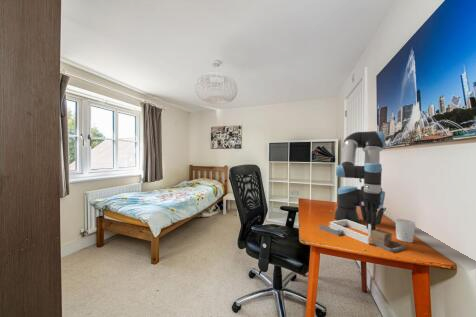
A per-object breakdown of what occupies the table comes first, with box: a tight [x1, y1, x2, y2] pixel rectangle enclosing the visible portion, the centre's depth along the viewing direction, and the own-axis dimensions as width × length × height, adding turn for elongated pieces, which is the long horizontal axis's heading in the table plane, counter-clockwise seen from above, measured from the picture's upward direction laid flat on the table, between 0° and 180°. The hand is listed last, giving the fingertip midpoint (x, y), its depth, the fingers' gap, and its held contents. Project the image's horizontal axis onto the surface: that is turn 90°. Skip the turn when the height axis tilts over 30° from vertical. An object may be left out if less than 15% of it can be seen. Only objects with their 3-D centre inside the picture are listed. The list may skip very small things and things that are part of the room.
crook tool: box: [318, 224, 344, 236], centre depth 112 cm, size 5×12×2 cm, turn 31°
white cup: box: [395, 218, 416, 243], centre depth 102 cm, size 8×8×10 cm
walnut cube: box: [370, 228, 393, 247], centre depth 97 cm, size 6×6×6 cm
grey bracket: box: [371, 241, 406, 253], centre depth 94 cm, size 10×9×1 cm
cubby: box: [328, 219, 371, 245], centre depth 109 cm, size 15×24×4 cm, turn 23°
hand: (370, 236), depth 101 cm, fingers closed
